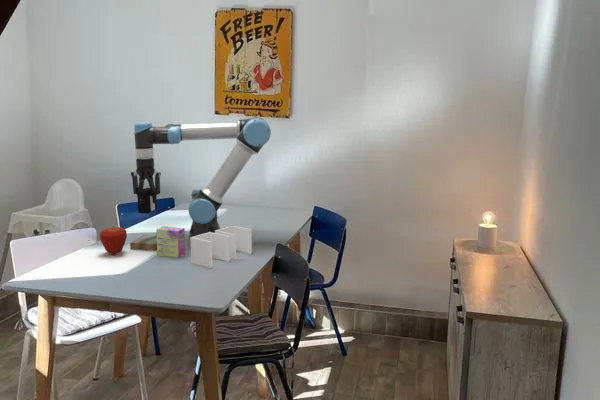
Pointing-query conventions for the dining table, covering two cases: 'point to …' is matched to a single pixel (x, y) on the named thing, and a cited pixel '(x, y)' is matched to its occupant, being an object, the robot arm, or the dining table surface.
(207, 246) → the white folding screen
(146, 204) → the electronic device
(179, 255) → the box
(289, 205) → the dining table surface
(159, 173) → the robot arm
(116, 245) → the apple
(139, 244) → the wooden tray
